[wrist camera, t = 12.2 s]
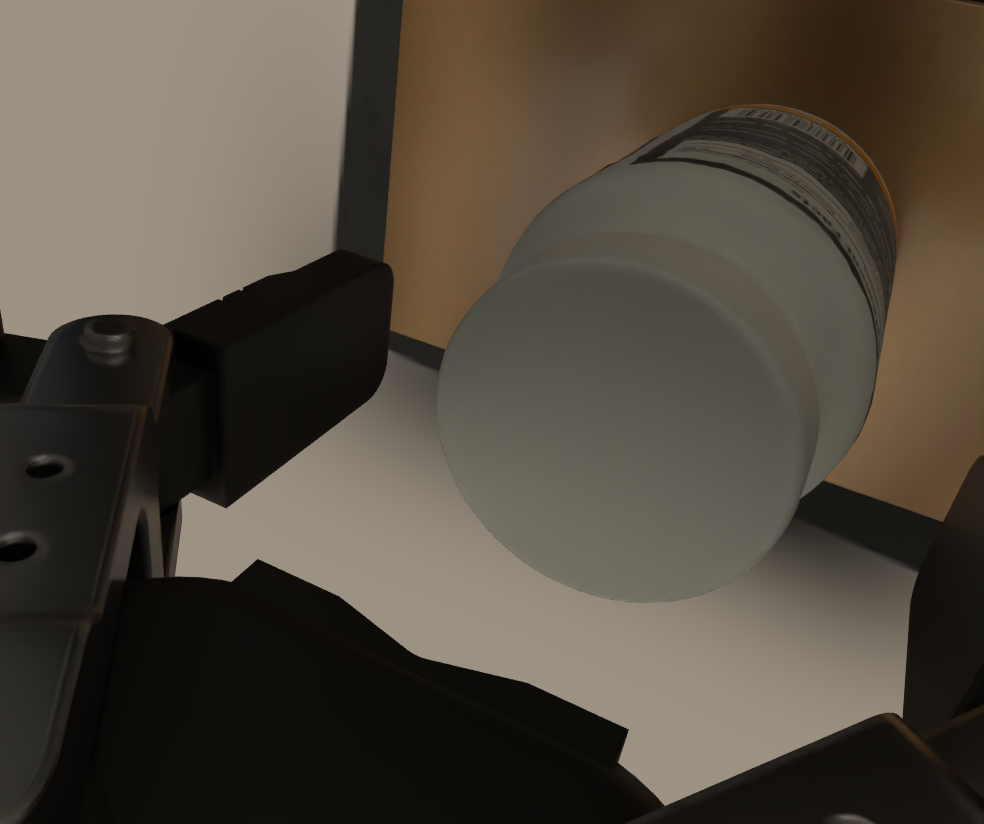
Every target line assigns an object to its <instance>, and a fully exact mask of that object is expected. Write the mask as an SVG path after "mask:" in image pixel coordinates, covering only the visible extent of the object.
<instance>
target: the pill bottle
mask: <svg viewBox="0 0 984 824" xmlns="http://www.w3.org/2000/svg"><path fill="white" fill-rule="evenodd" d="M897 246H898V244H897V224H896V217H895V212H894V207H893V204H892V201H891V197H890V194H889V191H888V189H887V187H886V185H885V183H884V181H883V179H882V177H881V175H880V173H879V171H878V170H877V168H876V167H875V165H874V163H873V162H872V160H871V159H870V158H869V157H868V155H867V154H866V153H865V152H864V151H863V150H862V148H861V147H860V146H859V145H858V144H856V143H855V142H854V141H853V140H852V139H851V138H850V137H849V136H848V135H847V134H845V133H844V132H842V131H841V130H840V129H838V128H837V127H835V126H834V125H832V124H830V123H829V122H827V121H825V120H823V119H821V118H819V117H817V116H814V115H812V114H809V113H806V112H803V111H800V110H797V109H794V108H790V107H785V106H779V105H771V104H748V105H736V106H729V107H725V108H720V109H716V110H713V111H710V112H707V113H705V114H703V115H700V116H698V117H696V118H693V119H691V120H689V121H687V122H686V123H682V124H680V125H678V126H676V127H674V128H672V129H670V130H669V131H667V132H665V133H663V134H661V135H659V136H657V137H654V138H653V139H651V140H650V141H648V142H647V143H646V144H644V145H642V146H641V147H639V148H638V149H637V150H635V151H633V152H632V153H631V154H629V155H627V156H625V157H623V158H622V159H620V160H619V161H618V162H615V163H611V164H609V165H607V166H605V167H604V168H602V169H601V170H599V171H598V172H597V173H595V174H594V175H592V176H590V177H588V178H587V179H585V180H583V181H581V182H580V183H578V184H577V185H575V186H573V187H572V188H570V189H568V190H567V191H565V192H563V193H562V194H561V195H560V196H558V197H557V198H556V199H554V200H553V201H552V202H551V203H550V204H549V205H547V206H546V207H545V208H544V209H543V210H542V211H541V212H540V213H539V214H538V215H537V216H536V217H535V218H534V220H533V221H532V222H531V224H530V225H529V226H528V228H527V229H526V230H525V232H524V233H523V234H522V236H521V237H520V239H519V240H518V242H517V243H516V245H515V246H514V248H513V250H512V251H511V253H510V255H509V257H508V259H507V261H506V263H505V266H504V268H503V270H502V273H501V275H500V278H499V281H498V283H496V284H495V285H494V286H493V287H491V288H490V289H489V290H487V291H486V292H485V293H484V294H483V295H482V296H481V297H480V299H479V300H478V301H477V302H476V303H475V304H474V305H473V306H472V307H471V309H470V310H469V311H468V312H467V314H466V315H465V316H464V318H463V319H462V321H461V322H460V323H459V325H458V326H457V328H456V330H455V331H454V333H453V335H452V337H451V339H450V341H449V343H448V346H447V348H446V350H445V353H444V357H443V360H442V363H441V367H440V370H439V375H438V381H437V392H436V416H437V425H438V430H439V435H440V441H441V444H442V448H443V451H444V455H445V459H446V462H447V464H448V467H449V469H450V471H451V474H452V476H453V479H454V481H455V483H456V485H457V487H458V488H459V490H460V492H461V493H462V495H463V497H464V499H465V500H466V502H467V503H468V505H469V506H470V508H471V509H472V511H473V512H474V513H475V515H476V516H477V517H478V518H479V520H480V521H481V523H482V524H483V525H484V526H485V527H486V528H487V529H488V531H489V532H490V533H491V534H492V535H493V536H494V537H495V538H496V539H497V540H498V541H499V542H501V543H502V544H503V545H504V546H505V547H506V548H507V549H508V550H510V551H511V552H512V553H513V554H514V555H516V556H517V557H518V558H519V559H521V560H522V561H523V562H524V563H526V564H527V565H528V566H530V567H532V568H533V569H535V570H536V571H538V572H540V573H541V574H543V575H545V576H547V577H549V578H551V579H553V580H555V581H557V582H560V583H562V584H564V585H566V586H568V587H571V588H573V589H576V590H578V591H581V592H585V593H588V594H591V595H594V596H598V597H602V598H606V599H611V600H617V601H625V602H644V603H649V602H669V601H677V600H683V599H688V598H692V597H695V596H698V595H703V594H706V593H708V592H711V591H714V590H716V589H718V588H720V587H722V586H724V585H726V584H728V583H731V582H732V581H734V580H735V579H737V578H738V577H740V576H741V575H743V574H744V573H746V572H747V571H748V570H750V569H751V568H752V567H753V566H755V565H756V564H757V563H759V562H760V561H761V560H762V558H764V556H766V555H767V553H768V552H769V551H770V550H771V549H772V547H773V546H774V545H775V543H776V542H777V541H778V539H779V538H780V537H781V535H782V534H783V533H784V531H785V530H786V528H787V526H788V525H789V523H790V521H791V519H792V517H793V515H794V513H795V511H796V509H797V506H798V503H799V500H800V498H802V497H803V496H805V495H806V494H807V493H809V492H810V491H811V490H813V489H814V488H815V487H816V486H817V485H818V484H819V483H820V482H821V481H822V480H824V479H825V478H826V477H827V476H828V475H829V473H830V472H831V471H832V470H833V469H834V468H835V467H836V466H837V465H838V464H839V462H840V461H841V460H842V459H843V458H844V457H845V455H846V454H847V452H848V451H849V449H850V448H851V446H852V445H853V443H854V442H855V441H856V439H857V438H858V437H859V435H860V432H861V430H862V428H863V426H864V424H865V421H866V418H867V416H868V413H869V410H870V407H871V405H872V400H873V396H874V391H875V386H876V377H877V372H878V367H879V361H880V356H881V350H882V347H883V339H884V332H885V325H886V320H887V315H888V308H889V303H890V299H891V294H892V287H893V280H894V274H895V265H896V259H897Z"/></svg>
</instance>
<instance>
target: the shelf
mask: <svg viewBox="0 0 984 824" xmlns="http://www.w3.org/2000/svg"><path fill="white" fill-rule="evenodd" d="M748 104H771V105H779V106H785V107H790V108H794V109H797V110H800V111H803V112H806V113H809V114H812V115H814V116H817V117H819V118H821V119H823V120H825V121H827V122H829V123H830V124H832V125H834V126H835V127H837V128H838V129H840V130H841V131H842V132H844V133H845V134H847V135H848V136H849V137H850V138H851V139H852V140H853V141H854V142H855V143H856V144H858V145H859V146H860V147H861V148H862V150H863V151H864V152H865V153H866V154H867V155H868V157H869V158H870V159H871V160H872V162H873V163H874V165H875V167H876V168H877V170H878V171H879V173H880V175H881V177H882V179H883V181H884V183H885V185H886V187H887V189H888V191H889V194H890V197H891V201H892V204H893V207H894V212H895V217H896V224H897V244H898V246H897V259H896V265H895V274H894V280H893V287H892V294H891V299H890V303H889V308H888V315H887V320H886V325H885V332H884V339H883V347H882V350H881V356H880V361H879V367H878V372H877V377H876V386H875V391H874V396H873V400H872V405H871V407H870V410H869V413H868V416H867V418H866V421H865V424H864V426H863V428H862V430H861V432H860V435H859V437H858V438H857V439H856V441H855V442H854V443H853V445H852V446H851V448H850V449H849V451H848V452H847V454H846V455H845V457H844V458H843V459H842V460H841V461H840V462H839V464H838V465H837V466H836V467H835V468H834V469H833V470H832V471H831V472H830V473H829V475H828V476H827V477H826V478H825V479H824V481H827V482H829V483H832V484H835V485H838V486H841V487H844V488H847V489H850V490H853V491H855V492H858V493H861V494H864V495H867V496H870V497H873V498H876V499H878V500H881V501H884V502H887V503H890V504H893V505H896V506H899V507H902V508H904V509H907V510H910V511H913V512H916V513H919V514H922V515H925V516H927V517H930V518H933V519H936V520H939V521H942V522H943V521H944V519H945V517H946V515H947V513H948V511H949V509H950V507H951V505H952V503H953V501H954V499H955V497H956V495H957V493H958V491H959V489H960V487H961V485H962V483H963V481H964V479H965V477H966V475H967V473H968V472H969V470H970V468H971V466H972V465H973V463H974V462H975V461H976V459H977V458H978V457H980V456H981V455H983V456H984V3H982V2H976V1H971V0H403V8H402V21H401V34H400V48H399V61H398V74H397V87H396V100H395V113H394V127H393V140H392V153H391V166H390V179H389V192H388V206H387V219H386V232H385V245H384V258H383V262H384V263H387V264H388V265H389V266H390V267H391V269H392V271H393V276H394V289H393V300H392V311H391V323H390V330H391V331H394V332H397V333H400V334H403V335H406V336H408V337H411V338H414V339H417V340H420V341H423V342H426V343H429V344H431V345H434V346H437V347H440V348H443V349H446V348H447V346H448V343H449V341H450V339H451V337H452V335H453V333H454V331H455V330H456V328H457V326H458V325H459V323H460V322H461V321H462V319H463V318H464V316H465V315H466V314H467V312H468V311H469V310H470V309H471V307H472V306H473V305H474V304H475V303H476V302H477V301H478V300H479V299H480V297H481V296H482V295H483V294H484V293H485V292H486V291H487V290H489V289H490V288H491V287H493V286H494V285H495V284H496V283H498V281H499V278H500V275H501V273H502V270H503V268H504V266H505V263H506V261H507V259H508V257H509V255H510V253H511V251H512V250H513V248H514V246H515V245H516V243H517V242H518V240H519V239H520V237H521V236H522V234H523V233H524V232H525V230H526V229H527V228H528V226H529V225H530V224H531V222H532V221H533V220H534V218H535V217H536V216H537V215H538V214H539V213H540V212H541V211H542V210H543V209H544V208H545V207H546V206H547V205H549V204H550V203H551V202H552V201H553V200H554V199H556V198H557V197H558V196H560V195H561V194H562V193H563V192H565V191H567V190H568V189H570V188H572V187H573V186H575V185H577V184H578V183H580V182H581V181H583V180H585V179H587V178H588V177H590V176H592V175H594V174H595V173H597V172H598V171H599V170H601V169H602V168H604V167H605V166H607V165H609V164H611V163H615V162H618V161H619V160H620V159H622V158H623V157H625V156H627V155H629V154H631V153H632V152H633V151H635V150H637V149H638V148H639V147H641V146H642V145H644V144H646V143H647V142H648V141H650V140H651V139H653V138H654V137H657V136H659V135H661V134H663V133H665V132H667V131H669V130H670V129H672V128H674V127H676V126H678V125H680V124H682V123H686V122H687V121H689V120H691V119H693V118H696V117H698V116H700V115H703V114H705V113H707V112H710V111H713V110H716V109H720V108H725V107H729V106H736V105H748Z"/></svg>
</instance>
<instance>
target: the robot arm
mask: <svg viewBox="0 0 984 824" xmlns="http://www.w3.org/2000/svg"><path fill="white" fill-rule="evenodd" d="M393 289H394V276H393V271H392V269H391V267H390V266H389V265H388V264H387V263H384V262H381V261H377V260H374V259H371V258H368V257H365V256H362V255H359V254H356V253H352V252H349V251H346V250H337V251H335V252H333V253H331V254H329V255H326V256H324V257H322V258H320V259H318V260H316V261H314V262H312V263H310V264H308V265H306V266H303V267H301V268H299V269H297V270H295V271H292V272H286V273H281V274H276V275H270V276H267V277H265V278H263V279H260V280H258V281H256V282H254V283H252V284H250V285H248V286H245V287H244V288H243V291H241V290H237V291H235V292H233V293H231V294H228V295H226V296H224V297H223V300H219V299H218V300H215V301H213V302H211V303H209V304H207V305H205V306H203V307H200V308H198V309H196V310H194V311H192V312H190V313H188V314H186V315H183V316H181V317H179V318H177V319H175V320H173V321H170V322H168V323H166V324H164V325H162V324H159V323H158V322H156V321H153V320H150V319H147V318H143V317H138V316H131V315H99V316H91V317H86V318H81V319H78V320H75V321H71V322H69V323H67V324H65V325H62V326H61V327H59V328H57V329H56V330H55V331H54V332H52V333H51V335H50V336H49V338H48V340H43V339H37V338H30V337H24V336H18V335H12V334H6V333H4V330H3V324H2V318H1V313H0V824H984V456H983V455H981V456H980V457H978V458H977V459H976V461H975V462H974V463H973V465H972V466H971V468H970V470H969V472H968V473H967V475H966V477H965V479H964V481H963V483H962V485H961V487H960V489H959V491H958V493H957V495H956V497H955V499H954V501H953V503H952V505H951V507H950V509H949V511H948V513H947V515H946V517H945V519H944V521H943V523H942V525H941V527H940V529H939V531H938V533H937V535H936V537H935V539H934V541H933V542H932V544H931V546H930V548H929V550H928V552H927V554H926V556H925V559H924V561H923V563H922V565H921V568H920V571H919V573H918V576H917V579H916V582H915V586H914V589H913V593H912V597H911V604H910V615H909V631H908V645H907V661H906V675H905V690H904V705H903V719H902V718H901V717H900V716H899V715H897V714H895V713H883V714H879V715H876V716H874V717H871V718H868V719H866V720H864V721H861V722H859V723H857V724H854V725H852V726H850V727H848V728H845V729H843V730H841V731H838V732H836V733H834V734H832V735H829V736H827V737H825V738H822V739H820V740H817V741H815V742H813V743H810V744H808V745H806V746H803V747H801V748H799V749H796V750H794V751H792V752H789V753H787V754H785V755H782V756H780V757H778V758H776V759H774V760H771V761H769V762H766V763H764V764H762V765H759V766H757V767H755V768H752V769H750V770H748V771H745V772H743V773H741V774H738V775H736V776H734V777H731V778H729V779H727V780H724V781H722V782H720V783H718V784H715V785H713V786H711V787H708V788H706V789H704V790H701V791H699V792H697V793H694V794H692V795H690V796H687V797H685V798H683V799H681V800H678V801H676V802H674V803H671V804H669V805H667V806H664V805H663V804H662V802H661V801H660V800H659V799H658V798H657V797H656V796H655V795H654V794H653V793H652V792H651V791H650V790H649V789H648V788H647V787H646V786H645V785H644V784H643V783H642V782H640V780H638V779H637V778H636V777H635V776H634V775H633V774H631V773H630V772H629V771H628V770H626V769H625V768H624V767H622V766H621V765H620V764H619V763H618V761H619V758H620V755H621V752H622V749H623V746H624V743H625V739H626V737H627V734H628V729H626V728H624V727H622V726H620V725H618V724H615V723H613V722H611V721H609V720H606V719H604V718H602V717H600V716H598V715H596V714H594V713H591V712H589V711H587V710H585V709H583V708H581V707H578V706H576V705H574V704H572V703H570V702H568V701H565V700H563V699H561V698H559V697H557V696H555V695H552V694H550V693H548V692H546V691H544V690H542V689H539V688H537V687H535V686H533V685H531V684H528V683H525V682H521V681H516V680H513V679H508V678H504V677H500V676H495V675H491V674H487V673H483V672H479V671H474V670H470V669H466V668H462V667H457V666H453V665H449V664H445V663H441V662H437V661H432V660H428V659H425V658H421V657H419V656H417V655H414V654H413V653H411V652H410V651H408V650H407V649H406V648H404V647H403V646H402V645H400V644H399V643H398V642H396V641H395V640H394V639H393V638H392V637H390V636H389V635H388V634H386V633H385V632H384V631H383V630H381V629H380V628H379V627H377V626H376V625H375V624H374V623H372V622H371V621H370V620H369V619H367V618H366V617H365V616H363V615H362V614H361V613H360V612H358V611H357V610H356V609H355V608H353V607H352V606H351V605H349V604H348V603H347V602H345V601H344V600H343V599H342V598H341V597H339V596H337V595H335V594H332V593H330V592H328V591H326V590H324V589H322V588H320V587H317V586H315V585H313V584H311V583H309V582H306V581H304V580H302V579H300V578H298V577H296V576H293V575H291V574H289V573H287V572H285V571H283V570H280V569H278V568H276V567H274V566H272V565H270V564H267V563H265V562H263V561H261V560H259V559H257V560H256V561H255V562H254V563H253V564H252V565H250V567H248V568H247V569H246V570H245V571H243V573H241V574H240V575H239V576H238V577H237V578H235V579H234V580H233V581H232V582H229V581H224V580H218V579H209V578H202V577H175V570H176V563H177V554H178V547H179V540H180V532H181V524H182V508H181V499H182V498H183V497H185V496H186V495H188V494H189V493H193V494H195V495H197V496H200V497H202V498H205V499H206V500H209V501H211V502H213V503H216V504H218V505H220V506H222V507H224V508H227V507H228V506H230V505H231V504H233V503H234V502H235V501H237V500H238V499H239V498H240V497H242V496H243V495H244V494H246V493H247V492H248V491H250V490H251V489H252V488H254V487H255V486H256V485H258V484H259V483H260V482H262V481H263V480H264V479H265V478H267V477H268V476H269V475H271V474H272V473H273V472H275V471H276V470H277V469H279V468H280V467H281V466H283V465H284V464H285V463H287V462H288V461H289V460H290V459H292V458H293V457H294V456H296V455H297V454H298V453H300V452H301V451H302V450H304V449H305V448H306V447H308V446H309V445H310V444H312V443H313V442H314V441H315V440H317V439H318V438H319V437H321V436H322V435H323V434H325V433H326V432H327V431H329V430H330V429H331V428H332V427H334V426H335V425H337V424H338V423H339V422H341V421H342V420H343V419H344V418H346V417H347V416H348V415H349V414H351V413H352V412H353V411H355V410H356V409H358V408H359V407H360V406H361V405H363V404H364V403H366V402H367V401H368V400H369V399H370V398H371V397H372V396H373V395H374V394H375V392H376V391H377V389H378V387H379V385H380V383H381V381H382V379H383V376H384V373H385V369H386V365H387V357H388V346H389V334H390V323H391V311H392V300H393Z"/></svg>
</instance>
